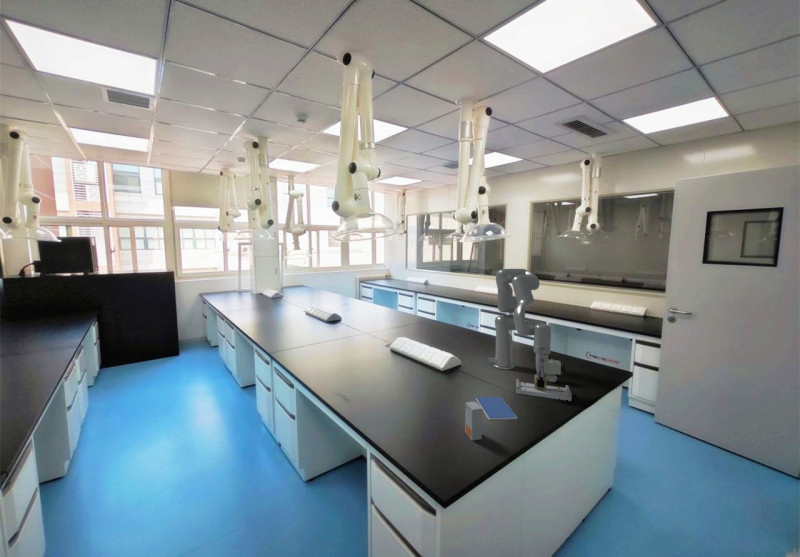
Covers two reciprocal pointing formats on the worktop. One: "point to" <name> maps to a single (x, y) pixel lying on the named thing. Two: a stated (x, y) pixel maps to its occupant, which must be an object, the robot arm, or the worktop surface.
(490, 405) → the tablet computer
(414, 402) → the worktop surface
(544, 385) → the fader tab
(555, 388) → the fader track
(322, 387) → the worktop surface
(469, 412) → the skincare box
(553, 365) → the pneumatic valve
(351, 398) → the worktop surface
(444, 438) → the worktop surface
